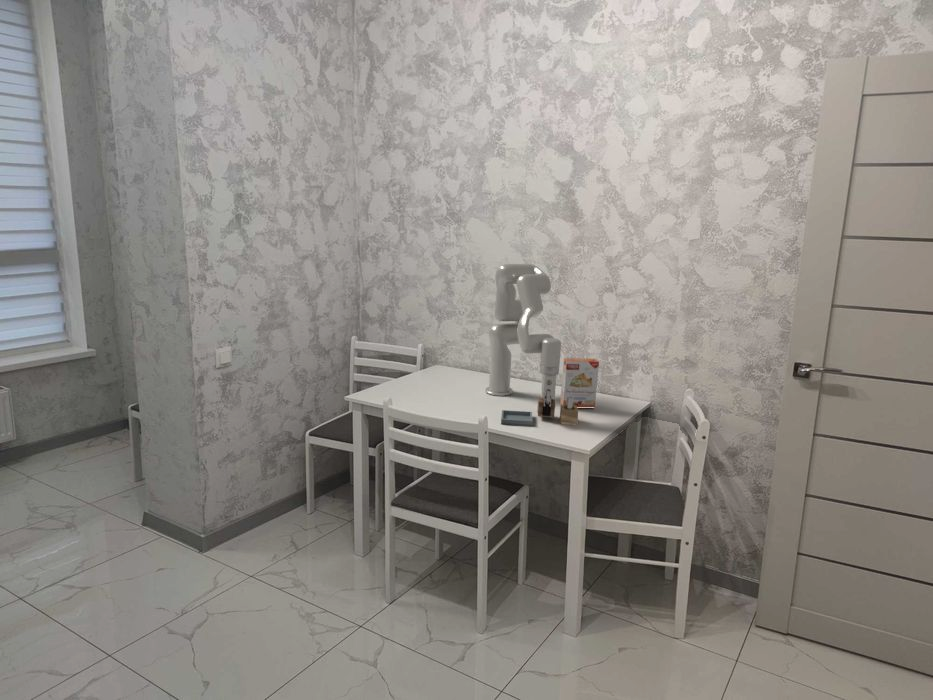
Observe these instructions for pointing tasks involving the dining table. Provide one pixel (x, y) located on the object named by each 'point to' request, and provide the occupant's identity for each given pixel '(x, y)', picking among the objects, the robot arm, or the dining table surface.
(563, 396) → the cracker box
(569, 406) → the steel pin
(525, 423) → the tray
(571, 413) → the oak block
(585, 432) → the dining table surface
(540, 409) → the walnut block
